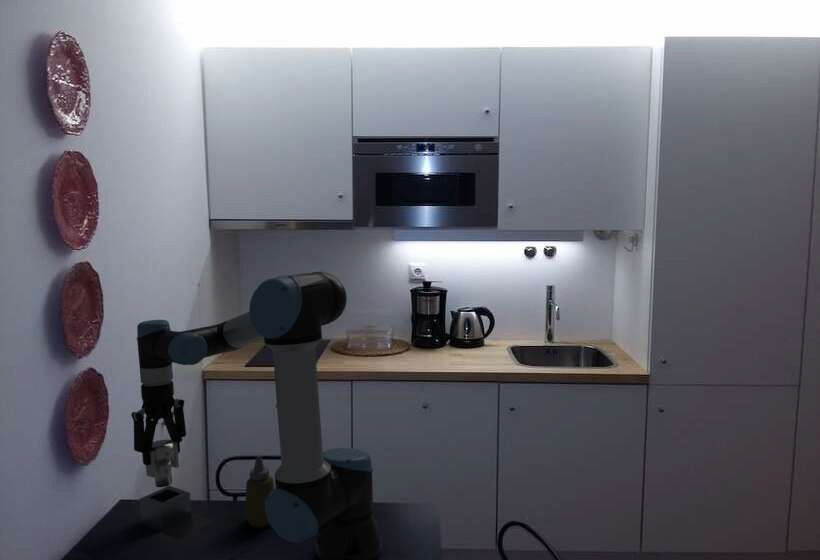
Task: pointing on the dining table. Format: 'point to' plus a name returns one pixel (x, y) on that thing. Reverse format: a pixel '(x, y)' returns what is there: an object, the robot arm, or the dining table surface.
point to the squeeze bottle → (258, 494)
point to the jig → (170, 512)
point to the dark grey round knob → (163, 461)
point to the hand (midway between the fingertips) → (163, 471)
